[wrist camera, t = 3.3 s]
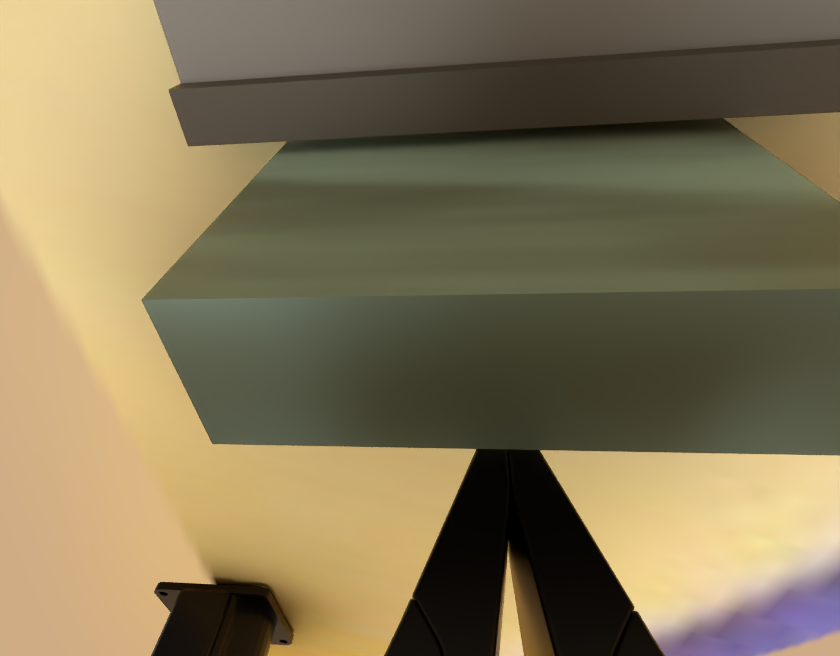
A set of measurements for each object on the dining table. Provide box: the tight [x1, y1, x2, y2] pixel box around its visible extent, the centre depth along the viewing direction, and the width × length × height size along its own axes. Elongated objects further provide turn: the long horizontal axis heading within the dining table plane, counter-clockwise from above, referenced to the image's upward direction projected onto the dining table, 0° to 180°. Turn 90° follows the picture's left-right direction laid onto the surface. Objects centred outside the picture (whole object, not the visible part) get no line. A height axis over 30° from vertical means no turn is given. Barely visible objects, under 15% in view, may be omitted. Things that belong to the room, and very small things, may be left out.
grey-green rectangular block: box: [142, 118, 840, 455], centre depth 10 cm, size 3×10×7 cm, turn 94°
